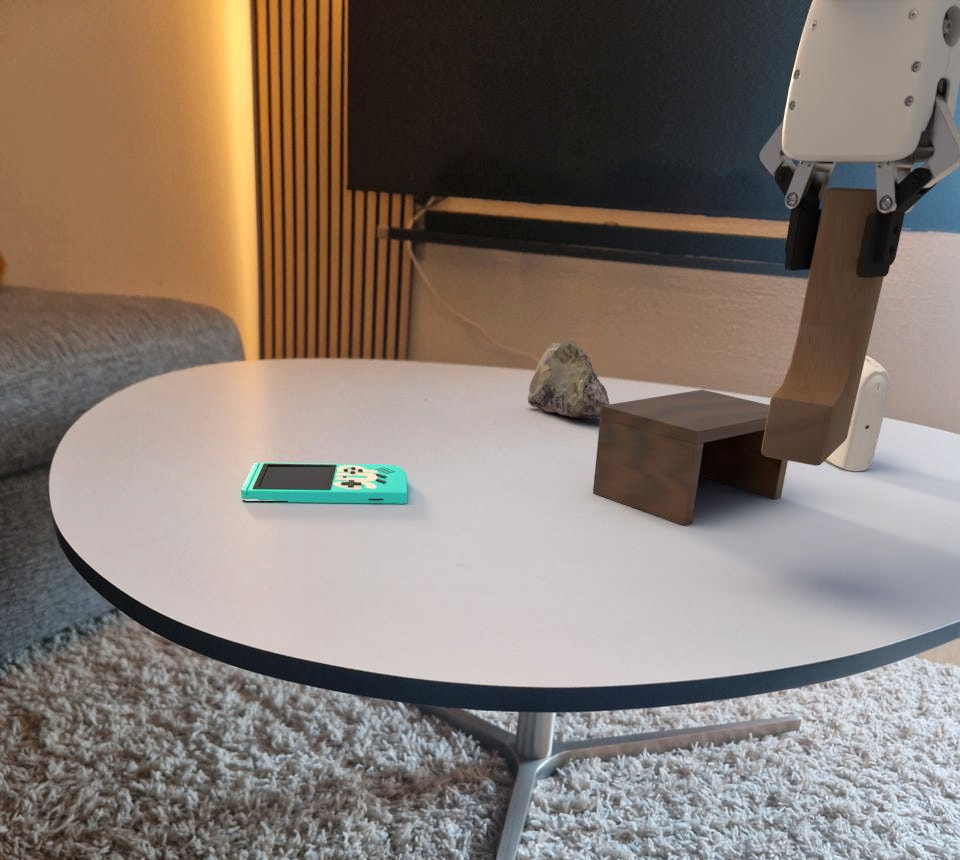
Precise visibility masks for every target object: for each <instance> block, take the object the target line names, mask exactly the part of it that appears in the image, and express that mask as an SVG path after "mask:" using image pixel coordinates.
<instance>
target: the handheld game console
mask: <svg viewBox="0 0 960 860" xmlns="http://www.w3.org/2000/svg"><path fill="white" fill-rule="evenodd" d="M240 492H241V499H242V498H243V499H258V500H274V501H275V500H276V501H288V502H287V503H309V504H310V503H311V504H312V503H315V504H316V503H317V504H319V503H321V504H322V503H323V504H330V503H331V504H391V505H393V504H394V505H395V504H396V505H397V504H401V505H402V504H403V505H405V504H407V502H408V476H407V472H406V471H405V470H404V469H403V468H402V467H400V466H398V465H394V464H385V463H327V462H326V463H324V462H323V463H322V462H321V463H320V462H318V463H317V462H266V461H265V462H259V461H258V462H254V463H253V465H252V467H251V468H250V471H249V473H248V475H247V477H246V479H245V480H244V483H243V484H242V487H241V489H240Z"/></svg>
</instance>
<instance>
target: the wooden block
mask: <svg viewBox="0 0 960 860" xmlns="http://www.w3.org/2000/svg"><path fill="white" fill-rule="evenodd" d="M876 207H877V194H876V188H859V187H829V188H826V190H825V192H824V195H823V201H822V206H821V209H822V210H821V216H820V221H819V226H818V231H817V236H816V241H815V247H814V252H813V257H812V262H811V267H810V269H809V272H808V278H807V283H806V288H805V294H804V300H803V304H802V309H801V314H800V320H799V324H798V331H797V334H796V335H797V336H796V340H795V343H794V347H793V351H792V355H791V359H790V363H789V366H788V369H787V371H786V372H785V373H786V374H785V376H784V379H783V381H782V384H781V386H780V387H778V389H777V390H776V391H775V392H774V394H772V397H771V398H770V399H769V400H770V401H769V404H768V405H769V411H768V416H767V421H766V427H765V432H764V437H763V443H762V448H761V452H762V455H764V456H766V457H771V458H777V459H782V460H787V461H788V462H794V463H799V464H805V465H809V466H816V467H817V466H821V465H822V464H823V463H824V462H825V461H827V460H826V459H827V458H828V457H829V456H830V455H831V454H832V453H833V452H834V451H835V450H836V449H837V448H838V447H839V446H840V445H841V444H842V443H843V442H844V441H845V440H846V438H847V435H848V431H849V427H850V422H851V418H852V414H853V409H854V405H855V401H856V396H857V392H858V388H859V383H860V379H861V375H862V370H863V366H864V361H865V357H866V355H867V353H868V348H869V343H870V339H871V335H872V330H873V326H874V321H875V316H876V313H877V309H878V305H879V304H878V303H879V299H880V295H881V290H882V287H883V282H884V278H885V276H884V277H873V278H861V277H858V275H857V274H856V269H857V264H858V259H859V254H860V248H861V243H862V238H863V233H864V228H865V222H866V218H867V216H868V215H869V213H876Z"/></svg>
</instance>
